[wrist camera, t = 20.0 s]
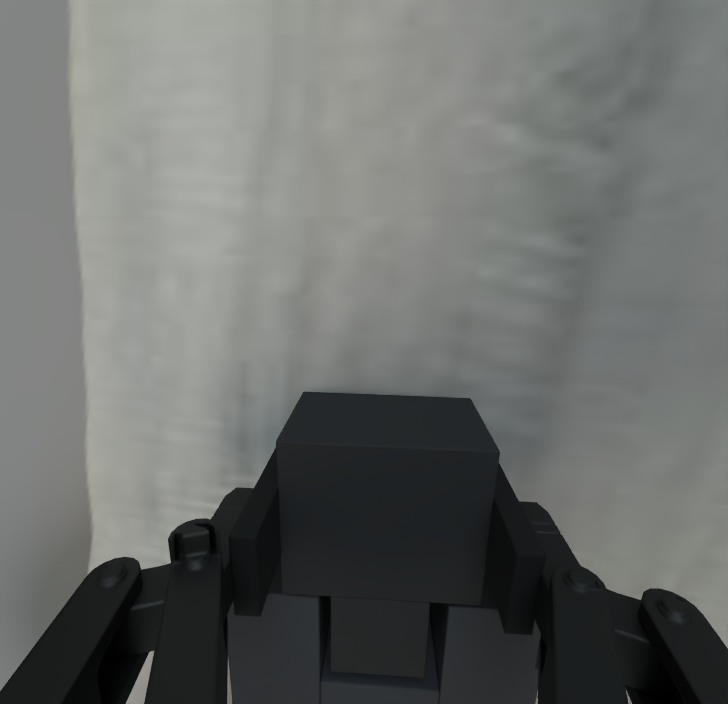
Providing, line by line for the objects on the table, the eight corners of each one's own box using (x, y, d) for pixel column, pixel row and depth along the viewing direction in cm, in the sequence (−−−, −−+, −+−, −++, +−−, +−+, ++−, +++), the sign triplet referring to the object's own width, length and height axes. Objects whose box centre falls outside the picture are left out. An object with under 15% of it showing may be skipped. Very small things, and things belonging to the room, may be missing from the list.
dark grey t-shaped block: (470, 397, 16) (500, 451, 12) (452, 583, 19) (471, 682, 15) (303, 391, 17) (275, 441, 12) (306, 575, 19) (284, 668, 15)
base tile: (514, 528, 18) (552, 614, 14) (479, 765, 23) (500, 885, 18) (258, 512, 19) (221, 590, 15) (271, 746, 23) (245, 858, 19)
